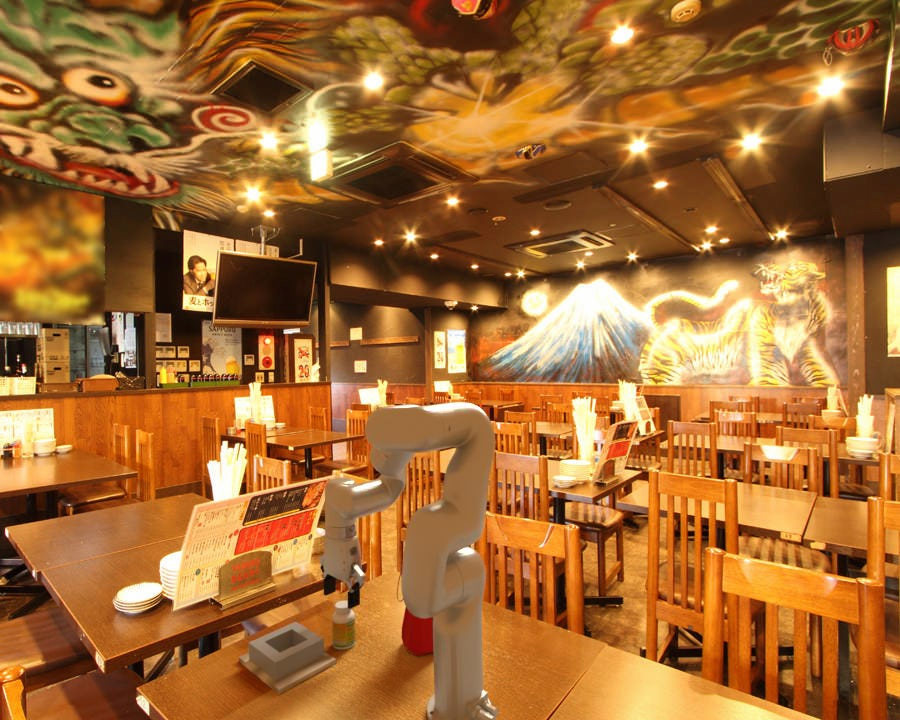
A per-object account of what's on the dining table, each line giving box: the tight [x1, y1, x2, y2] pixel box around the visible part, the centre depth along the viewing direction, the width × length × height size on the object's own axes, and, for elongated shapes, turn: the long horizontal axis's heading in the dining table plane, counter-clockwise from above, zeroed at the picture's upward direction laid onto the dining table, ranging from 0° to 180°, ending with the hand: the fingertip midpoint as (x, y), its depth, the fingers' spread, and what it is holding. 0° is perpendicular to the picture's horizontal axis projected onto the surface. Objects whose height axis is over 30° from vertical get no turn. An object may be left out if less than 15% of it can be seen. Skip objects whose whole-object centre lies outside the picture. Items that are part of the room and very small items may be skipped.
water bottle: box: [396, 561, 434, 657], centre depth 121 cm, size 9×11×25 cm
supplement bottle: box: [331, 600, 356, 651], centre depth 123 cm, size 5×5×10 cm
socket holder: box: [248, 621, 325, 681], centre depth 116 cm, size 12×12×4 cm
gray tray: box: [238, 646, 337, 695], centre depth 116 cm, size 18×14×1 cm
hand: (341, 599), depth 123 cm, fingers open, 9 cm apart
